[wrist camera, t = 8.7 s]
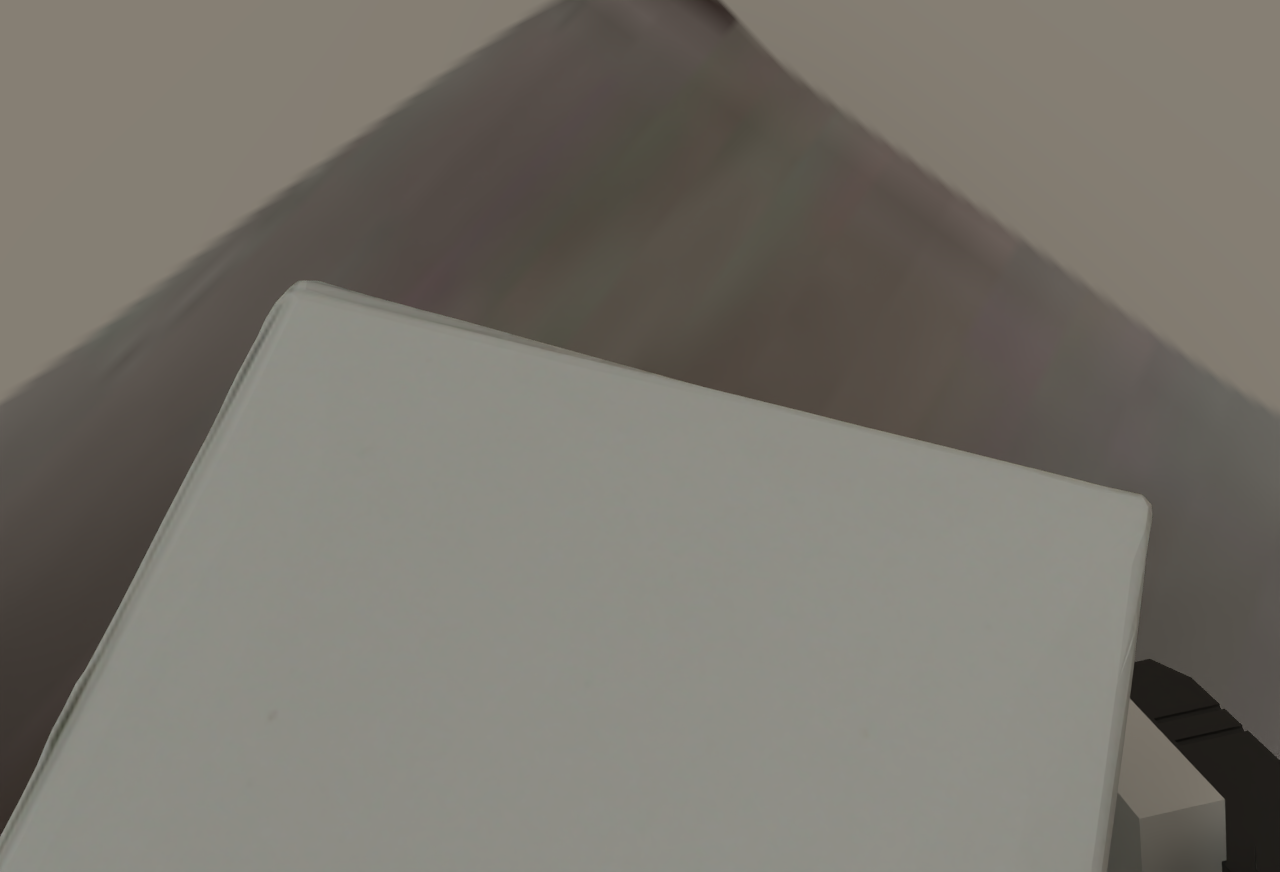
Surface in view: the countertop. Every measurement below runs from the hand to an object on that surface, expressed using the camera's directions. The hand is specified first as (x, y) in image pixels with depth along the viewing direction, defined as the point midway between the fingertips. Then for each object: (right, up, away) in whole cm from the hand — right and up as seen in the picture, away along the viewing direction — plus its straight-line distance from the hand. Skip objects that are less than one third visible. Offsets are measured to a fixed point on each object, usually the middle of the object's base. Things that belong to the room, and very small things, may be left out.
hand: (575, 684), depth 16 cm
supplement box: (+1, -5, +3) cm, 6 cm away
